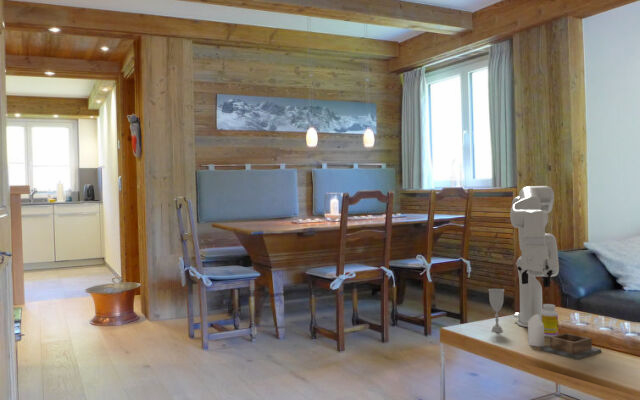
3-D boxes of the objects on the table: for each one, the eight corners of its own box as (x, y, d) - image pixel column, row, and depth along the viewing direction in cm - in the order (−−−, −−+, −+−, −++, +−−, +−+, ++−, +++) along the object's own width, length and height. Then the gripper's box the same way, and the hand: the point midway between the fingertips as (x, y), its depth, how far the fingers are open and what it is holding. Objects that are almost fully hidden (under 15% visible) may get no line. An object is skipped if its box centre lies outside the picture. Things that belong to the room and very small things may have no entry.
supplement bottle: (560, 337, 221) (559, 306, 221) (542, 337, 223) (542, 306, 222) (556, 333, 228) (555, 303, 228) (539, 333, 229) (539, 303, 229)
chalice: (495, 328, 239) (494, 287, 239) (508, 331, 234) (508, 289, 234) (485, 331, 235) (484, 290, 235) (499, 334, 229) (498, 291, 229)
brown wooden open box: (540, 349, 205) (540, 336, 205) (564, 343, 213) (563, 330, 213) (577, 359, 192) (577, 345, 192) (601, 352, 200) (600, 338, 200)
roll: (526, 314, 212) (529, 312, 216) (526, 345, 212) (530, 341, 216) (542, 316, 208) (545, 313, 213) (542, 347, 208) (545, 343, 213)
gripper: (510, 241, 217) (511, 283, 217) (548, 243, 203) (549, 289, 203) (522, 240, 221) (522, 281, 221) (560, 242, 207) (561, 286, 207)
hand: (535, 285), depth 212 cm, fingers open, 9 cm apart
